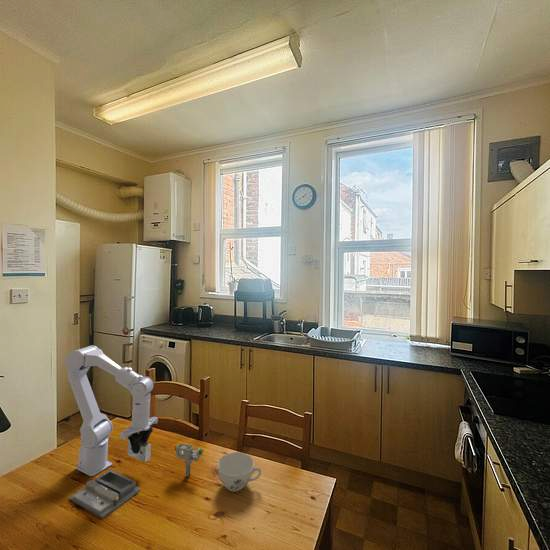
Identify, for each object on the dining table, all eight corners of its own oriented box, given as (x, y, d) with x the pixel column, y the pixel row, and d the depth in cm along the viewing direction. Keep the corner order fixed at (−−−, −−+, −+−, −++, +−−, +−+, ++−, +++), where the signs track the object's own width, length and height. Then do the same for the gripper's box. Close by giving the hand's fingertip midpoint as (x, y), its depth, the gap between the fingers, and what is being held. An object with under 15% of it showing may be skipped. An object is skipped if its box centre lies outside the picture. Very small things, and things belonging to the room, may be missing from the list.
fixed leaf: (69, 499, 92) (69, 488, 92) (108, 475, 103) (108, 466, 104) (102, 519, 85) (102, 507, 85) (140, 491, 97) (140, 481, 97)
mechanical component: (198, 480, 103) (200, 451, 103) (172, 475, 105) (173, 447, 105) (202, 475, 106) (204, 446, 106) (176, 470, 108) (178, 442, 108)
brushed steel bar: (127, 454, 107) (127, 441, 107) (133, 451, 109) (133, 437, 109) (144, 462, 103) (145, 447, 103) (150, 458, 106) (151, 444, 106)
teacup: (212, 498, 95) (213, 473, 95) (220, 473, 107) (221, 451, 107) (258, 501, 94) (259, 476, 94) (261, 475, 107) (262, 453, 107)
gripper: (131, 423, 99) (128, 464, 98) (164, 408, 112) (162, 444, 111) (117, 418, 102) (114, 458, 101) (151, 403, 115) (149, 439, 114)
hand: (138, 450), depth 106 cm, fingers closed on brushed steel bar, 2 cm apart
